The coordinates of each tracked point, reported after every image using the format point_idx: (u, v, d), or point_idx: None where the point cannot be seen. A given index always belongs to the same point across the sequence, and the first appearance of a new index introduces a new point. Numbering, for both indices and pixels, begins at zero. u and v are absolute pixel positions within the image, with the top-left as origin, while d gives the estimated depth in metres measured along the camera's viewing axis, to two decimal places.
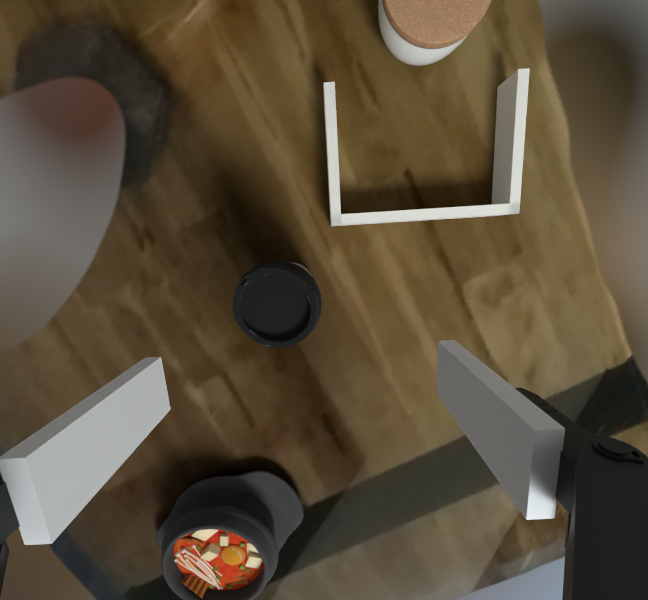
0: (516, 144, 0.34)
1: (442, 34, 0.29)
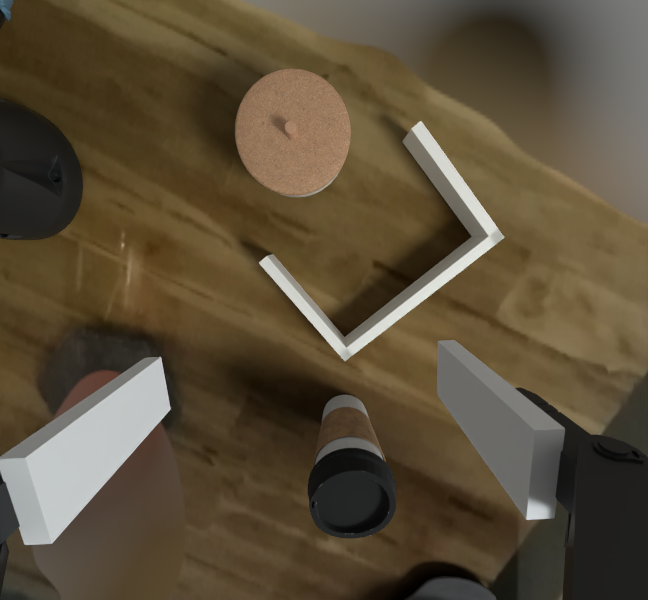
0: (457, 186, 0.32)
1: (327, 172, 0.28)
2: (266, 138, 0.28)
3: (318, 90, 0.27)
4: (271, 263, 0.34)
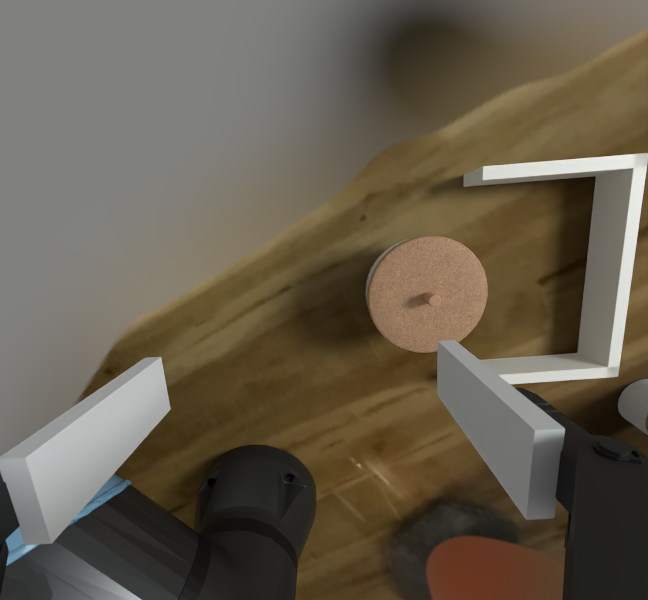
0: (564, 169, 0.28)
1: (481, 290, 0.27)
2: (415, 320, 0.27)
3: (415, 252, 0.26)
4: None
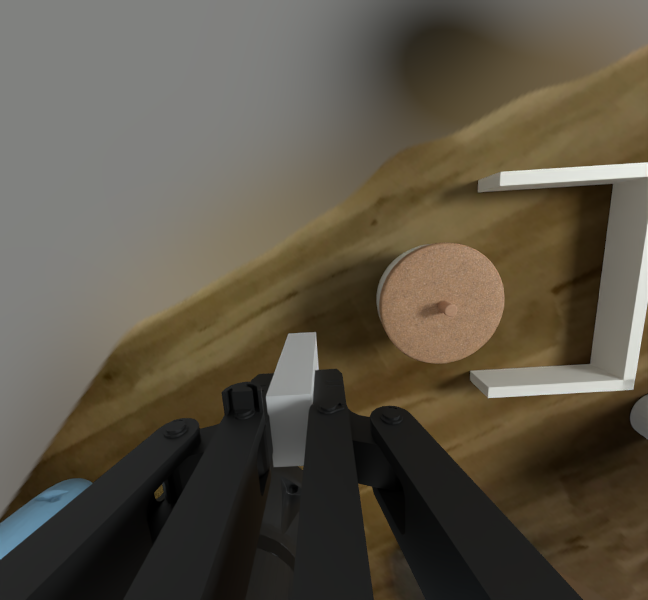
0: (583, 176, 0.27)
1: (498, 299, 0.26)
2: (429, 330, 0.26)
3: (431, 259, 0.25)
4: (498, 388, 0.31)
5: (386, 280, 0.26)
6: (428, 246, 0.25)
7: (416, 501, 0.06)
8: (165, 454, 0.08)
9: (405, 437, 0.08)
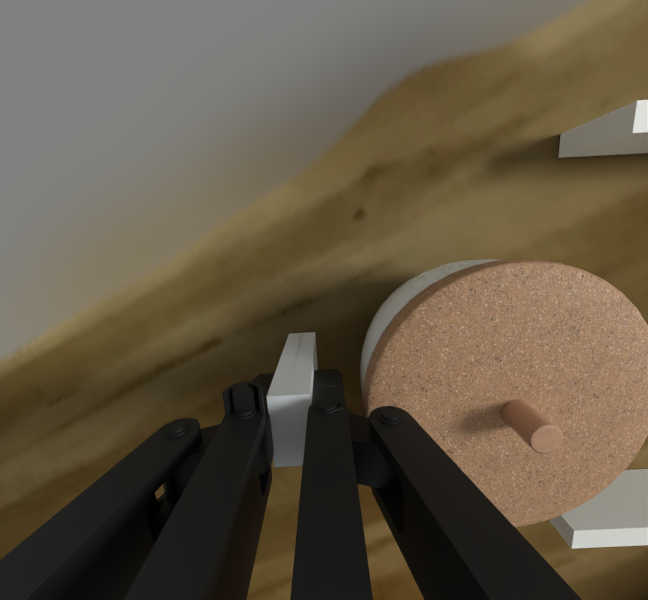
0: None
1: (647, 397, 0.11)
2: (480, 464, 0.11)
3: (492, 302, 0.10)
4: (591, 532, 0.17)
5: (379, 348, 0.11)
6: (484, 269, 0.10)
7: (415, 501, 0.06)
8: (166, 454, 0.08)
9: (404, 437, 0.08)
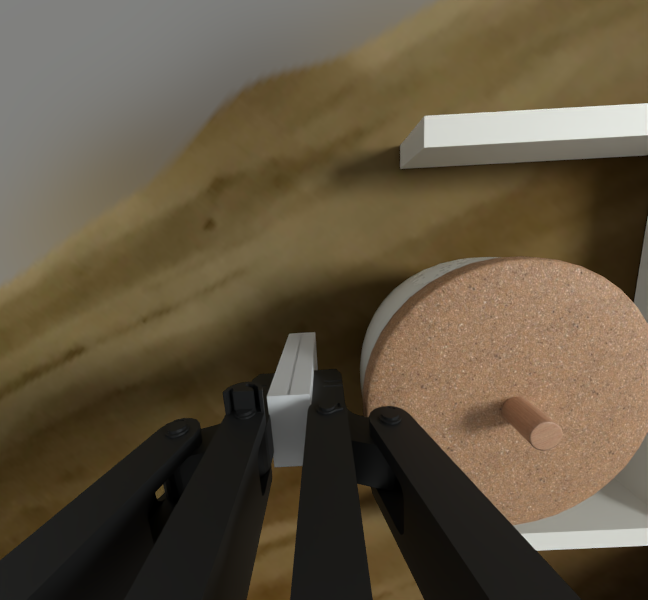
0: (606, 128, 0.12)
1: (647, 393, 0.11)
2: (480, 461, 0.11)
3: (490, 299, 0.10)
4: None
5: (378, 346, 0.11)
6: (483, 266, 0.10)
7: (415, 501, 0.06)
8: (166, 454, 0.08)
9: (404, 437, 0.08)
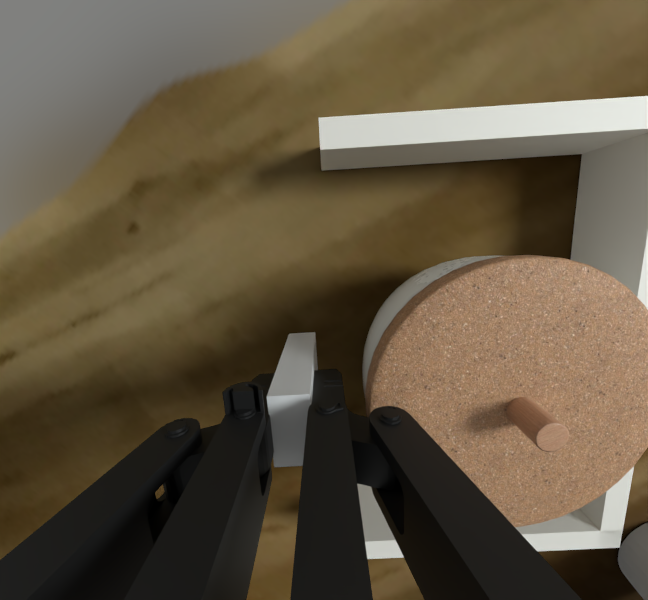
0: (504, 128, 0.12)
1: None
2: (484, 463, 0.11)
3: (495, 298, 0.10)
4: None
5: (381, 345, 0.11)
6: (487, 265, 0.10)
7: (415, 501, 0.06)
8: (166, 454, 0.08)
9: (404, 437, 0.08)
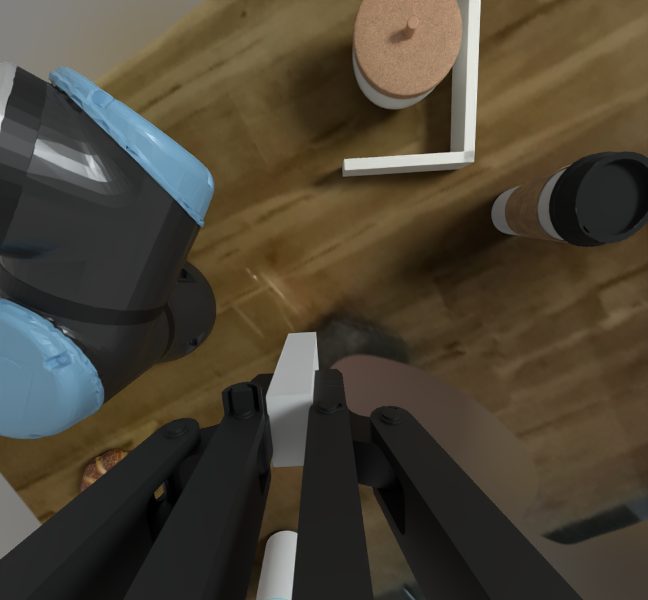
0: None
1: (456, 26, 0.29)
2: (396, 58, 0.30)
3: None
4: (352, 160, 0.35)
5: (358, 11, 0.29)
6: None
7: (416, 501, 0.06)
8: (165, 454, 0.08)
9: (405, 437, 0.08)
